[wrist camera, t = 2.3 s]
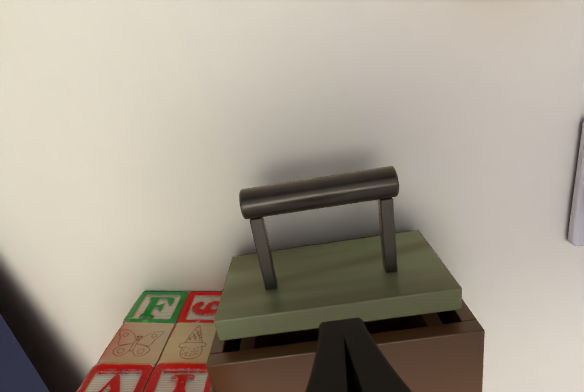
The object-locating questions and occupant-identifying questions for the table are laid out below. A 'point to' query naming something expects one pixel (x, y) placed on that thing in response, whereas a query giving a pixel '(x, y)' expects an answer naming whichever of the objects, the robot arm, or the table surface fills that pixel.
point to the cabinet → (393, 344)
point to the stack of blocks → (159, 346)
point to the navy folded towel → (16, 365)
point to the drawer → (331, 269)
